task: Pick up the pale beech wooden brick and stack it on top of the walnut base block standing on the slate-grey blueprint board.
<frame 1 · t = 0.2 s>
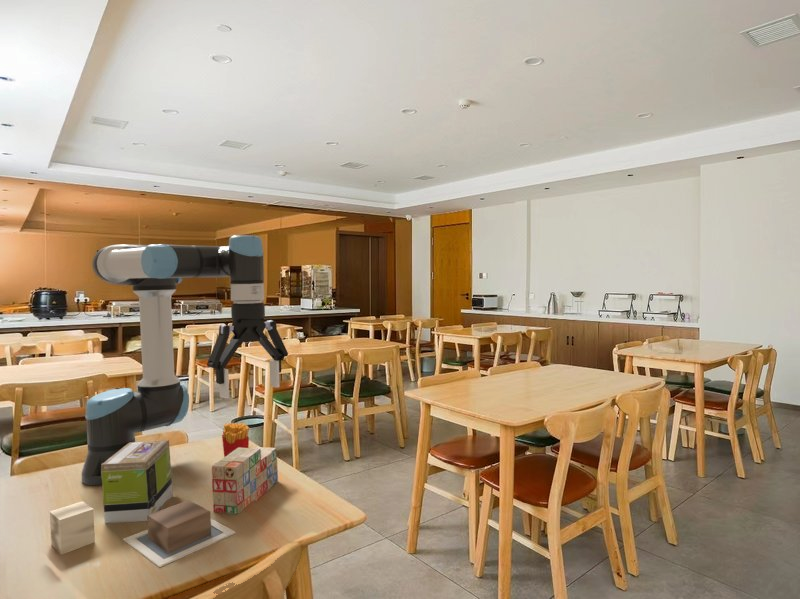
hand: (250, 392, 121), 28 cm above the table, fingers open, 13 cm apart
tea box: (140, 512, 121), on the table
stack of blocks: (248, 498, 128), on the table
beech brick: (73, 548, 105), on the table
walnut base block: (179, 536, 107), point 1 cm above the table, touching blueprint board
blueprint board: (180, 541, 107), on the table
french fries: (237, 469, 147), on the table
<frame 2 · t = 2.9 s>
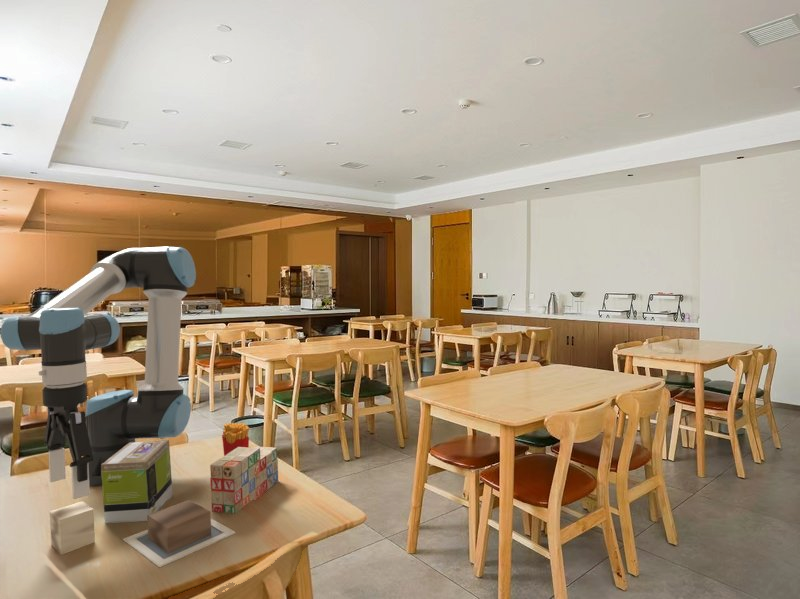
hand: (69, 488, 104), 13 cm above the table, fingers open, 13 cm apart
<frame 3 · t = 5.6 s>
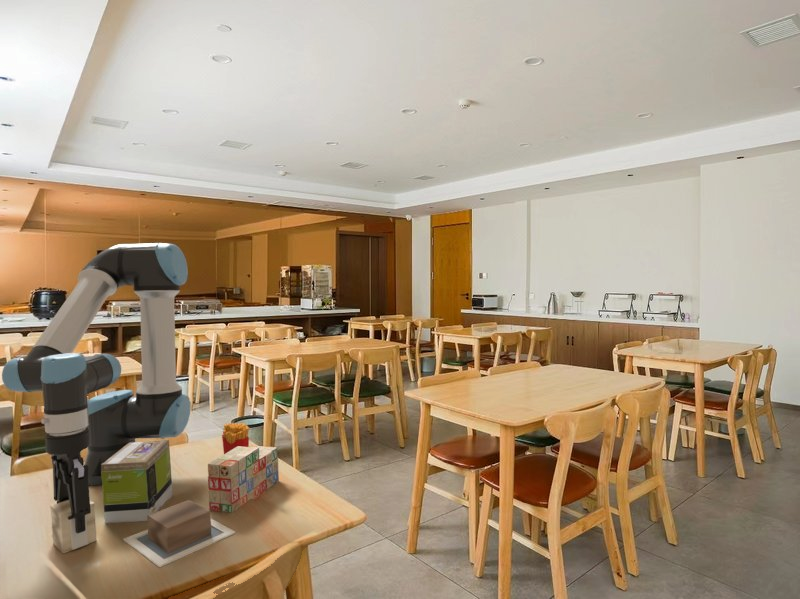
hand: (73, 540, 105), 1 cm above the table, fingers closed on beech brick, 6 cm apart
beech brick: (74, 542, 105), point 1 cm above the table, touching gripper
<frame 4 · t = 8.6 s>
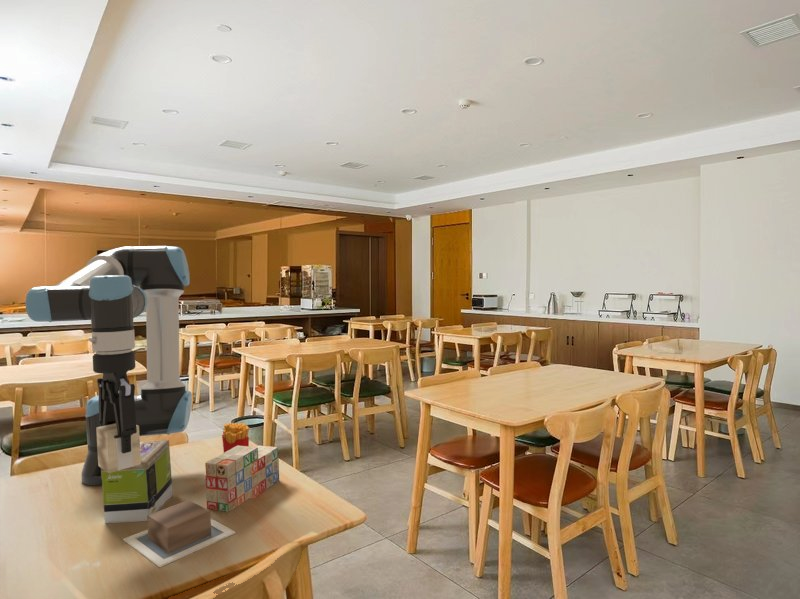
hand: (118, 463, 105), 17 cm above the table, fingers closed on beech brick, 6 cm apart
beech brick: (119, 465, 105), point 17 cm above the table, touching gripper
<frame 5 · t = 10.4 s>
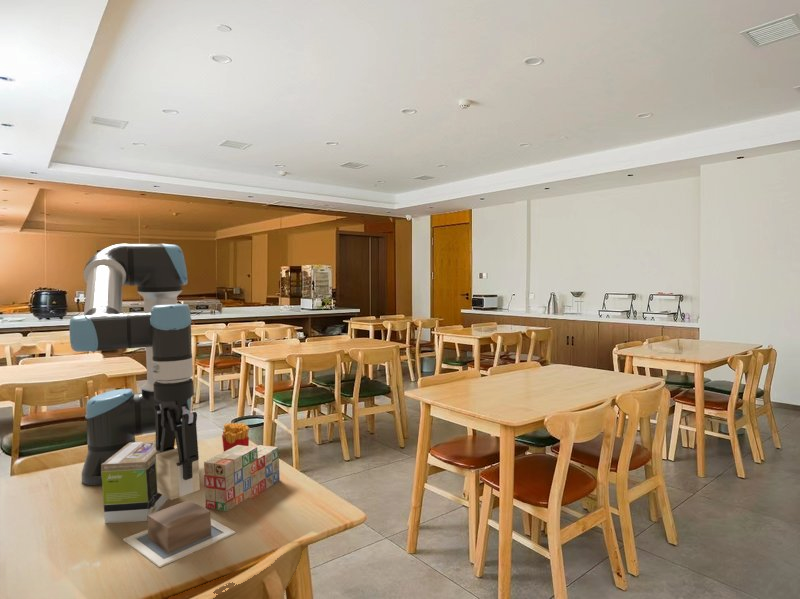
hand: (178, 489, 106), 11 cm above the table, fingers closed on beech brick, 6 cm apart
beech brick: (178, 490, 106), point 11 cm above the table, touching gripper
when the fingers open (8 cm above the table, at t = 11.7 s): beech brick drops 2 cm, resting on walnut base block.
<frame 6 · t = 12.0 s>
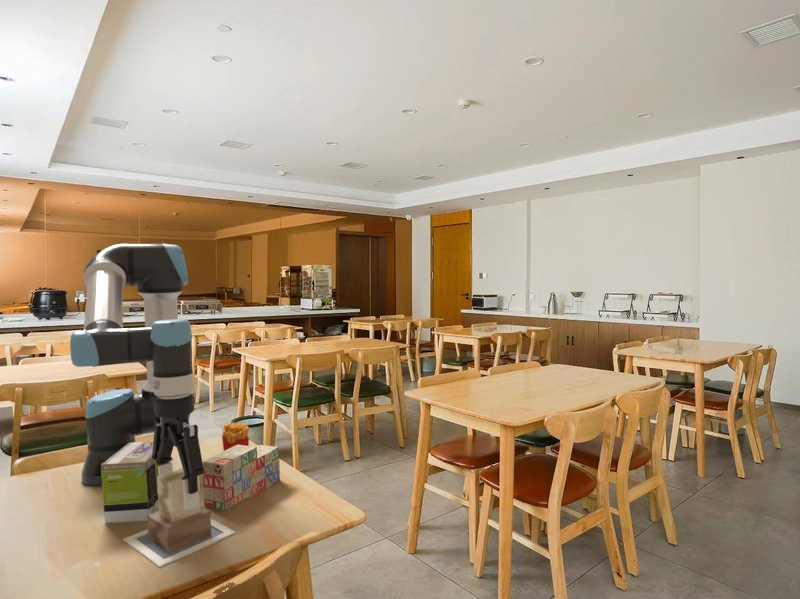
hand: (178, 500, 106), 9 cm above the table, fingers open, 10 cm apart
beech brick: (179, 513, 107), point 6 cm above the table, touching walnut base block
walnut base block: (179, 536, 107), point 1 cm above the table, touching beech brick, blueprint board
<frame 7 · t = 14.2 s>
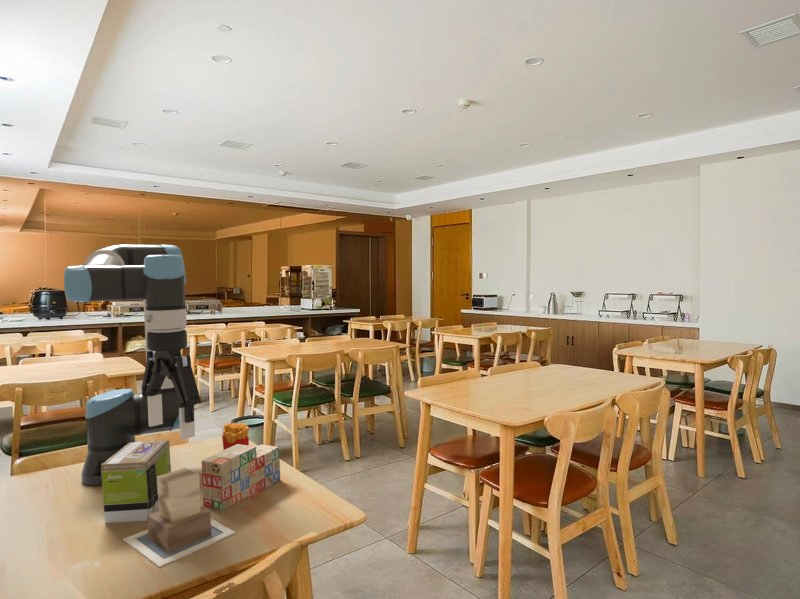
hand: (171, 431, 107), 23 cm above the table, fingers open, 13 cm apart
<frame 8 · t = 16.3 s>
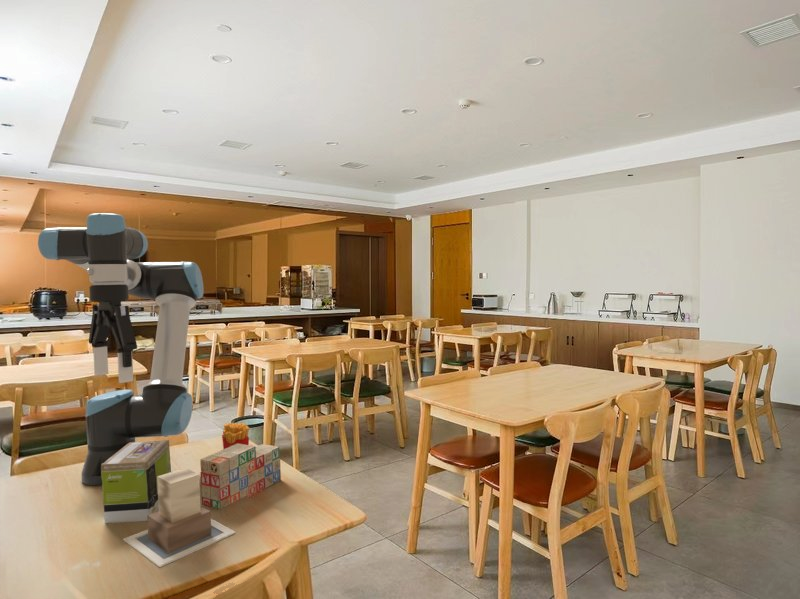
hand: (113, 378, 115), 33 cm above the table, fingers open, 13 cm apart
at the end: beech brick 0.2 cm off-centre on the walnut base block, point 5.0 cm above the walnut base block's base; beech brick tilted 0°; the gripper is holding nothing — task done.
